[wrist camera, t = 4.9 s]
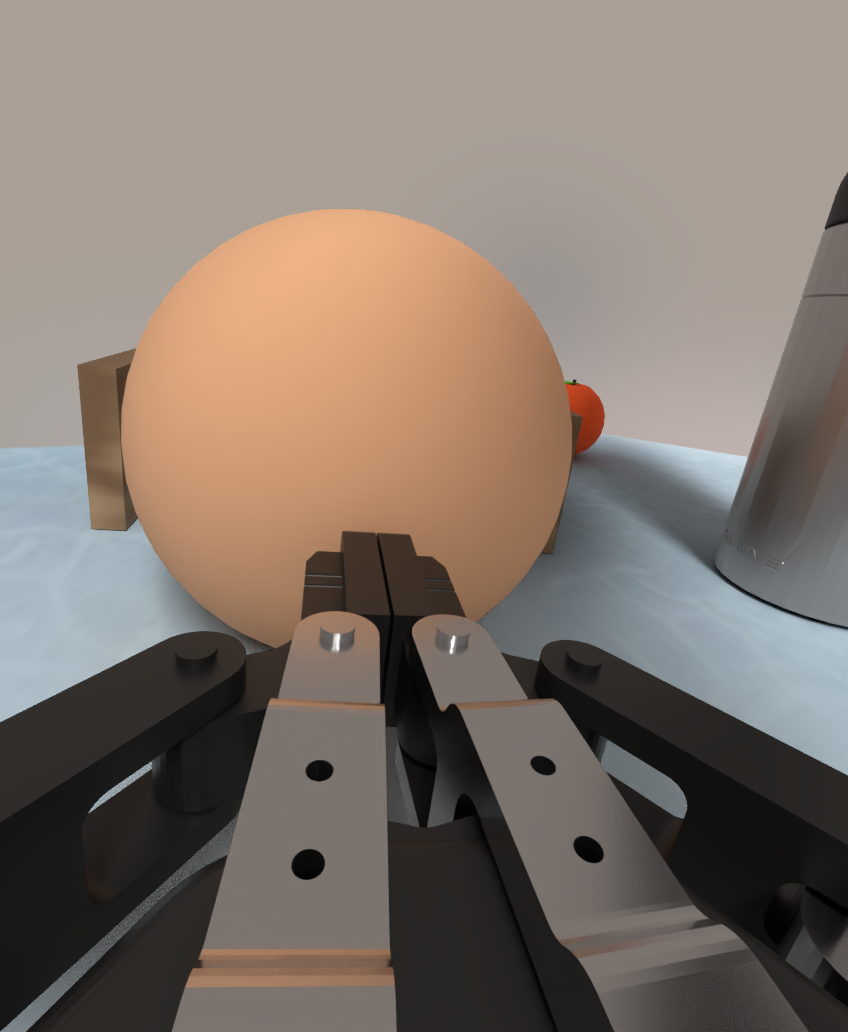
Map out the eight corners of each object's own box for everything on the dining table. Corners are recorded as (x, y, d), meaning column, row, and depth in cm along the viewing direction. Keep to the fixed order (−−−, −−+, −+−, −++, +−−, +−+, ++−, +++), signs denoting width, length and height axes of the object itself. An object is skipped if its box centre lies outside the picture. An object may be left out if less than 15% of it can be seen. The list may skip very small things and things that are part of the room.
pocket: (488, 478, 43) (506, 379, 40) (552, 553, 31) (583, 416, 28) (168, 453, 39) (164, 340, 36) (91, 528, 26) (77, 364, 24)
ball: (476, 555, 29) (527, 261, 24) (590, 763, 16) (748, 224, 11) (189, 541, 27) (181, 207, 22) (54, 774, 14) (-38, 81, 9)
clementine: (500, 443, 56) (513, 370, 53) (549, 441, 60) (563, 373, 57) (560, 466, 50) (578, 385, 47) (610, 463, 54) (629, 387, 51)
